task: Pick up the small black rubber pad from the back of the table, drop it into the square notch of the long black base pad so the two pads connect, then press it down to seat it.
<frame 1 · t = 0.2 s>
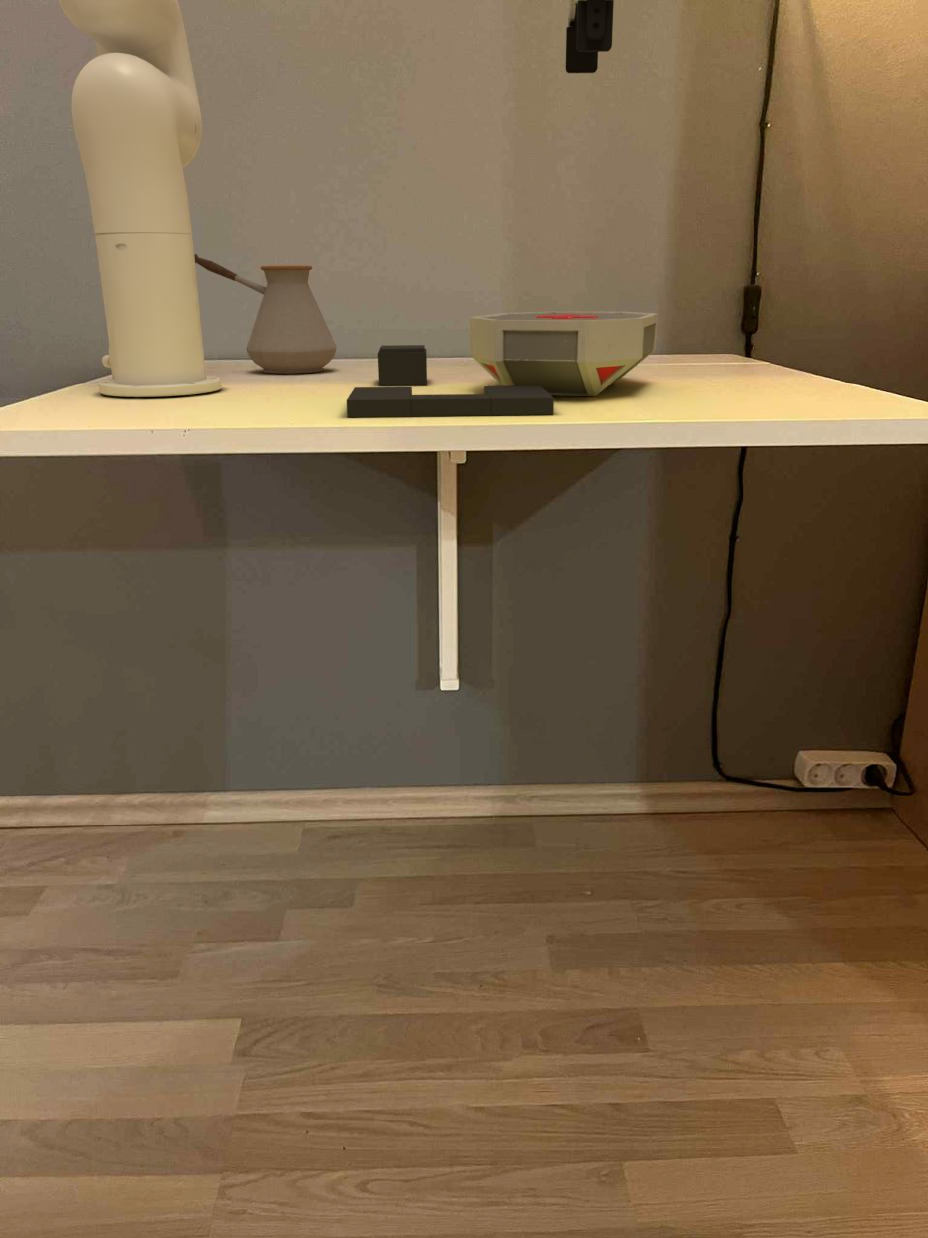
hand: (587, 62, 92), 31 cm above the table, tool pointing down, fingers open, 9 cm apart
coffee pot: (259, 372, 125), on the table
pad piece: (403, 382, 109), on the table
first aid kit: (564, 390, 102), on the table
base pad: (449, 408, 87), on the table
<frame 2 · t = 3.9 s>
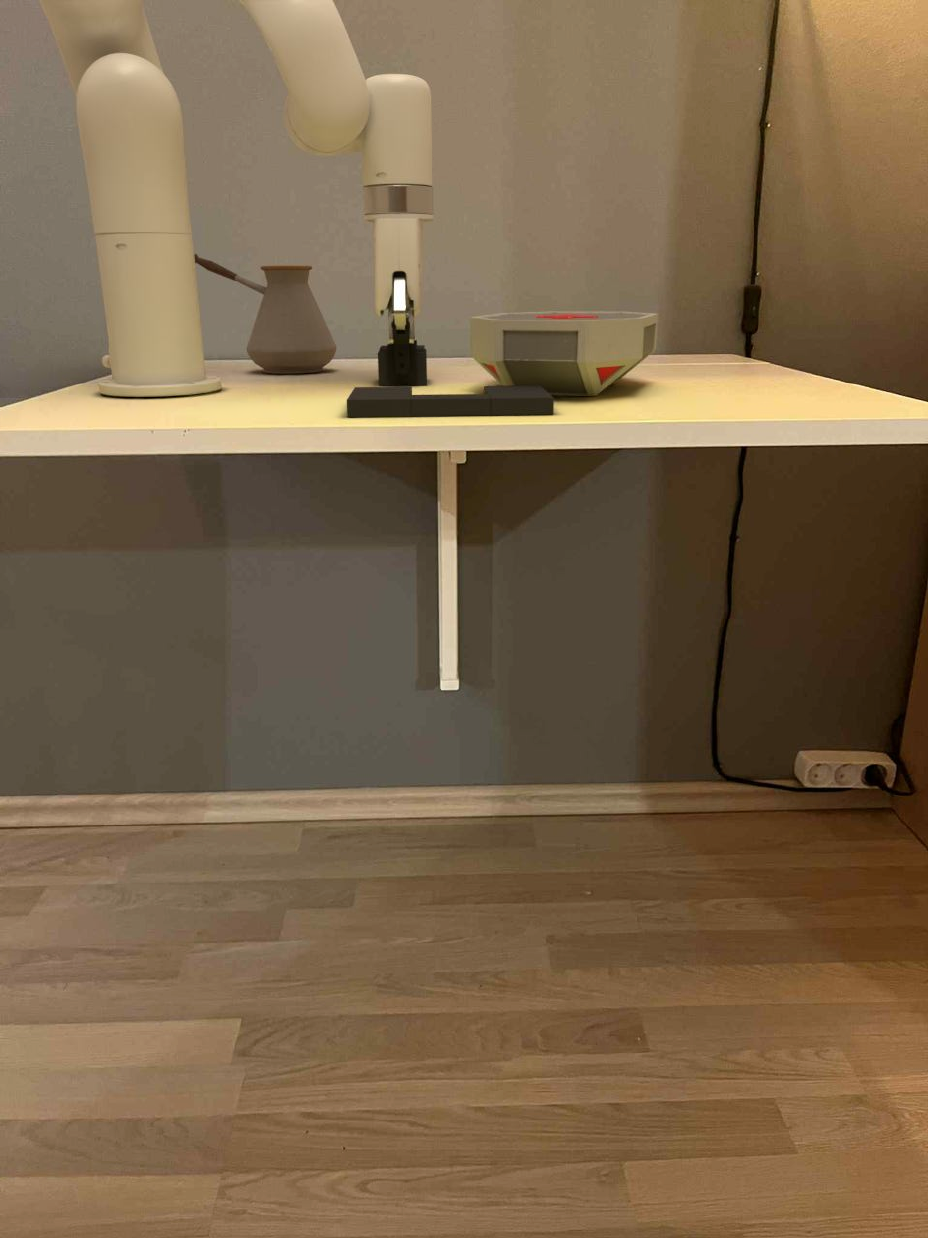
hand: (403, 376, 109), 1 cm above the table, tool pointing down, fingers closed on pad piece, 5 cm apart
pad piece: (403, 382, 109), on the table, touching gripper
everything else where it was.
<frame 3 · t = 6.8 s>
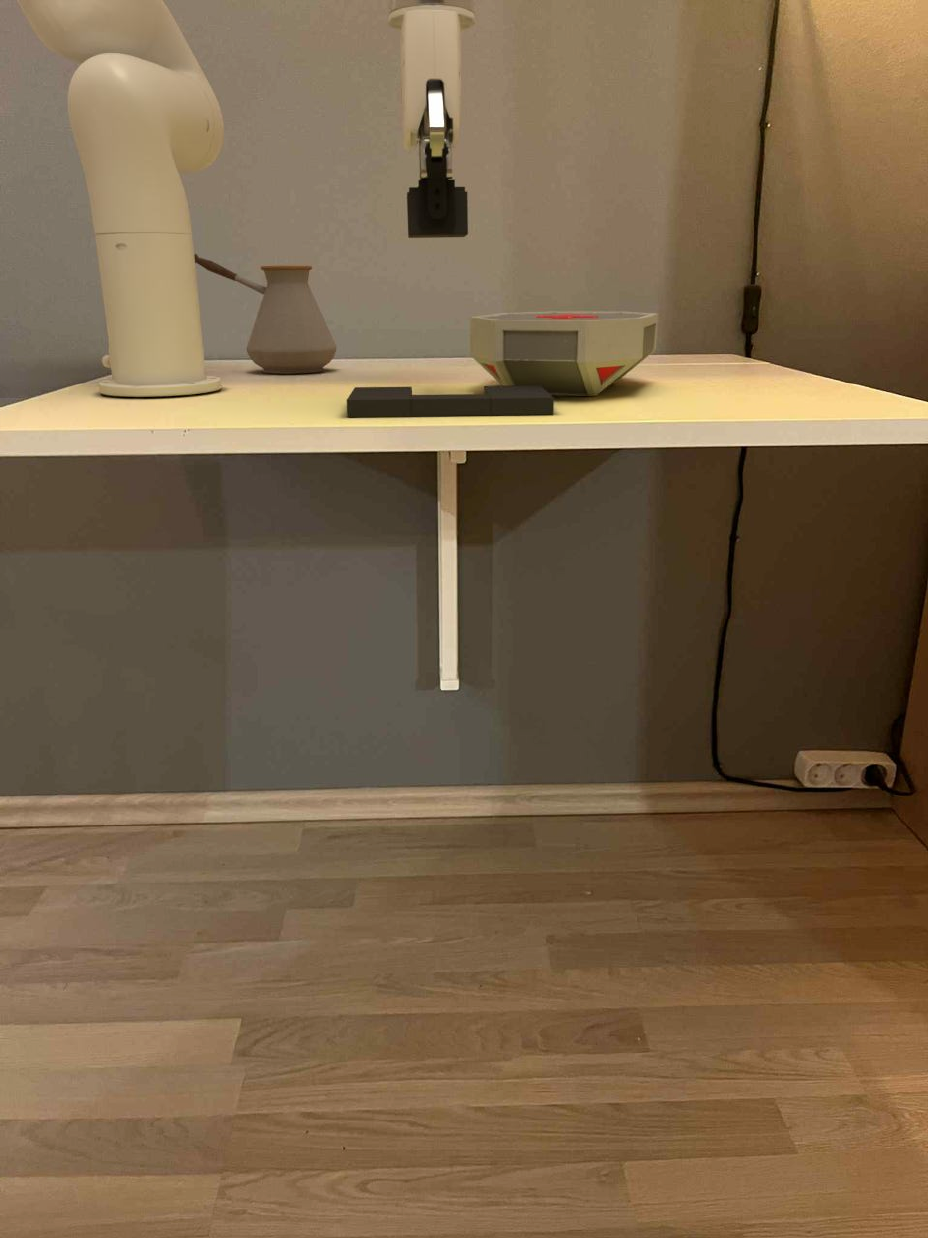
hand: (436, 227, 88), 16 cm above the table, tool pointing down, fingers closed on pad piece, 5 cm apart
pad piece: (437, 236, 88), point 15 cm above the table, touching gripper
everything else where it was.
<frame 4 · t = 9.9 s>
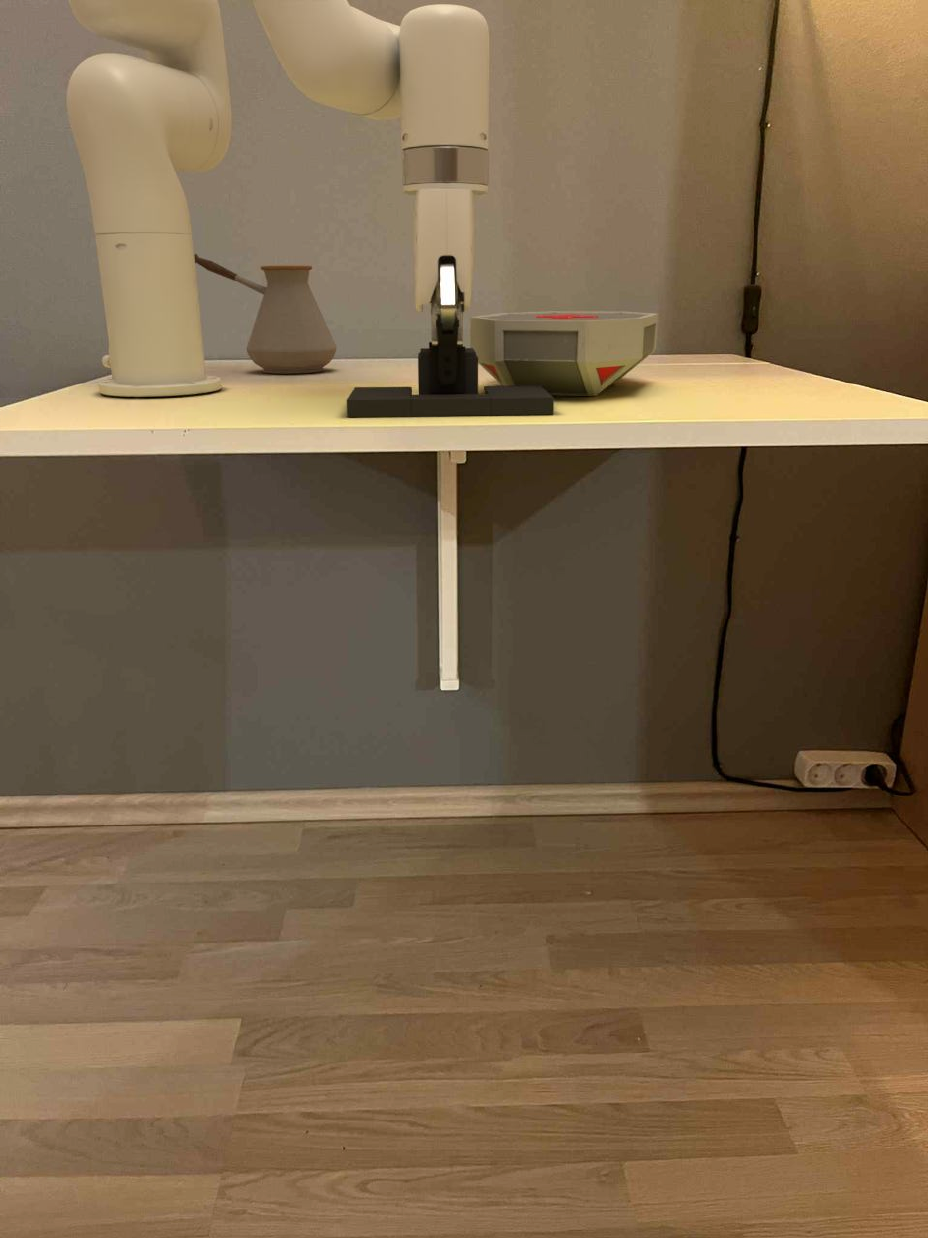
hand: (446, 386, 88), 2 cm above the table, tool pointing down, fingers closed on pad piece, 5 cm apart
pad piece: (447, 394, 89), point 1 cm above the table, touching gripper
everything else where it was.
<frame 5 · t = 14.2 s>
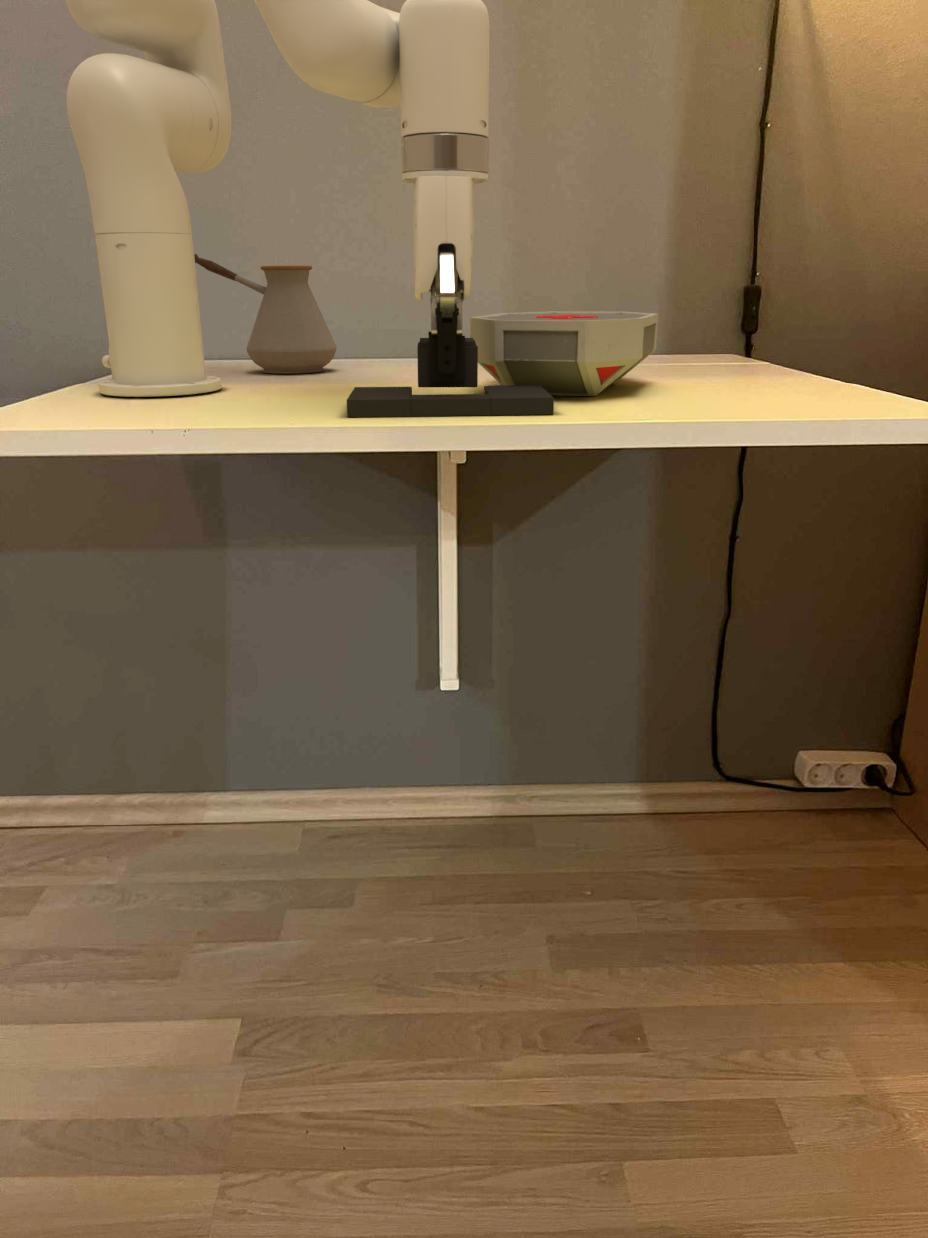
hand: (446, 376, 88), 3 cm above the table, tool pointing down, fingers closed on pad piece, 5 cm apart
pad piece: (447, 384, 88), point 2 cm above the table, touching gripper
everything else where it was.
when the fingers open (3 cm above the table, at t = 18.2 s): pad piece drops 2 cm, on the table.
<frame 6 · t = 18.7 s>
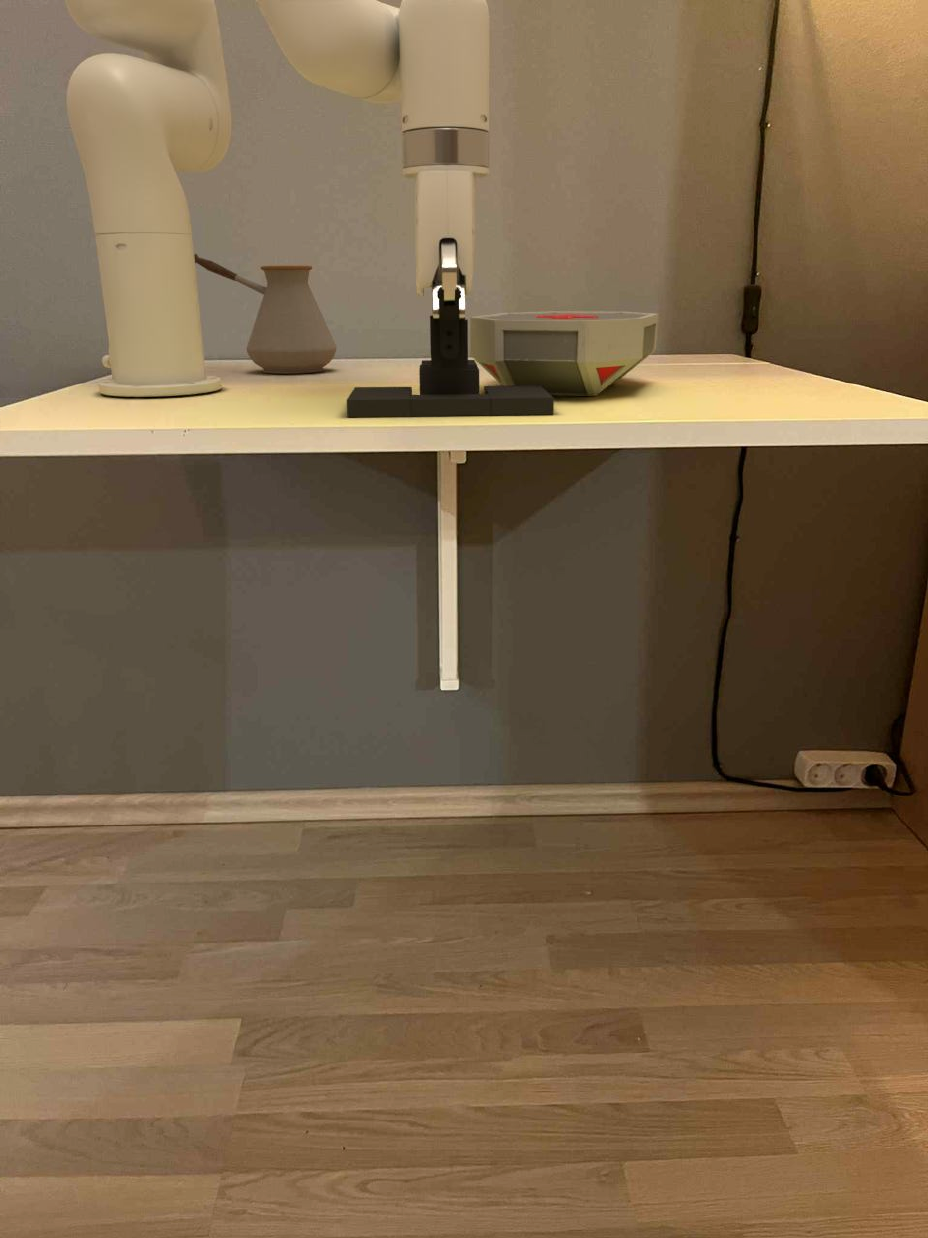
hand: (448, 362, 88), 4 cm above the table, tool pointing down, fingers open, 9 cm apart
pad piece: (449, 406, 89), on the table
everything else where it was.
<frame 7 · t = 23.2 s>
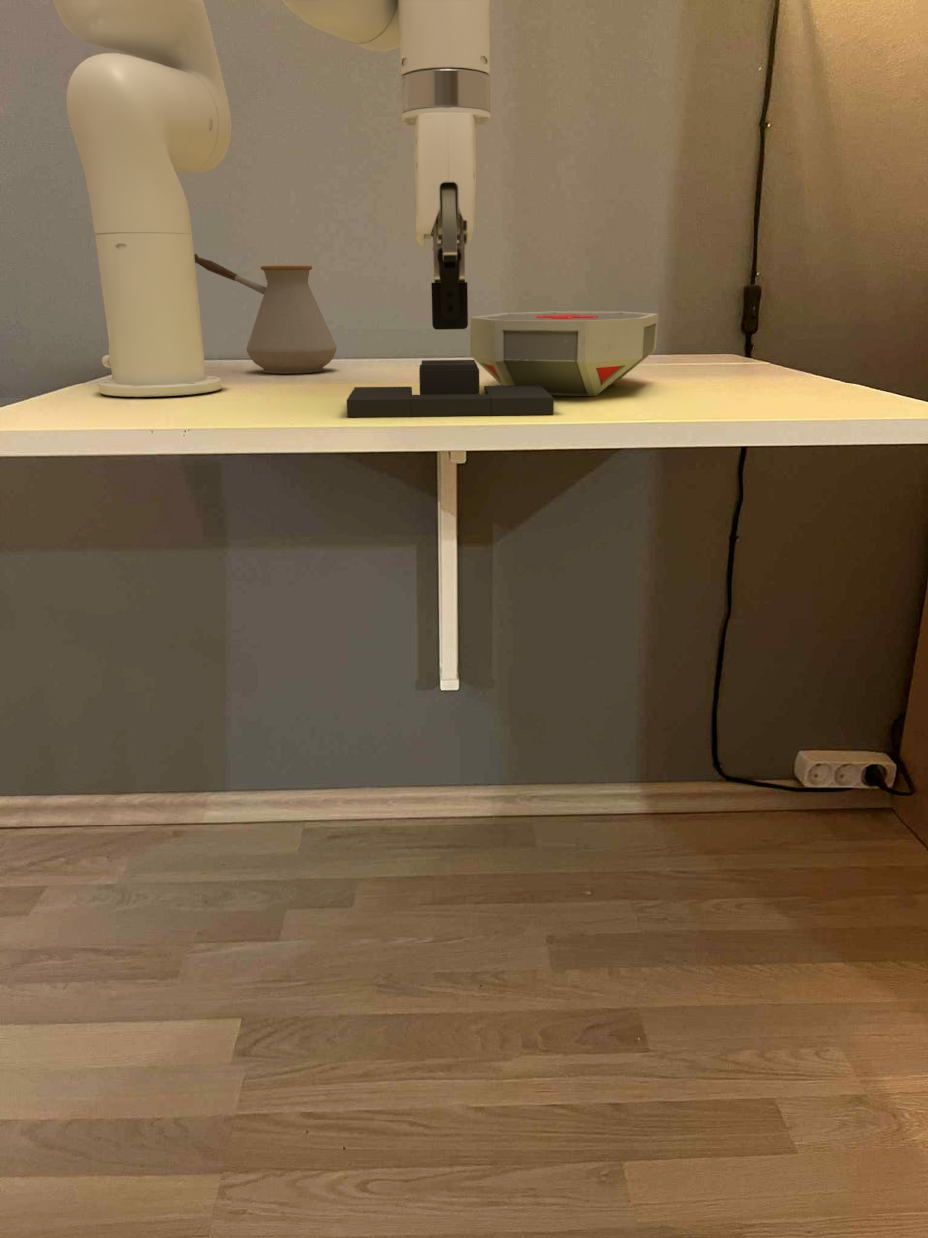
hand: (450, 328, 87), 7 cm above the table, tool pointing down, fingers closed
nothing on the table moved.
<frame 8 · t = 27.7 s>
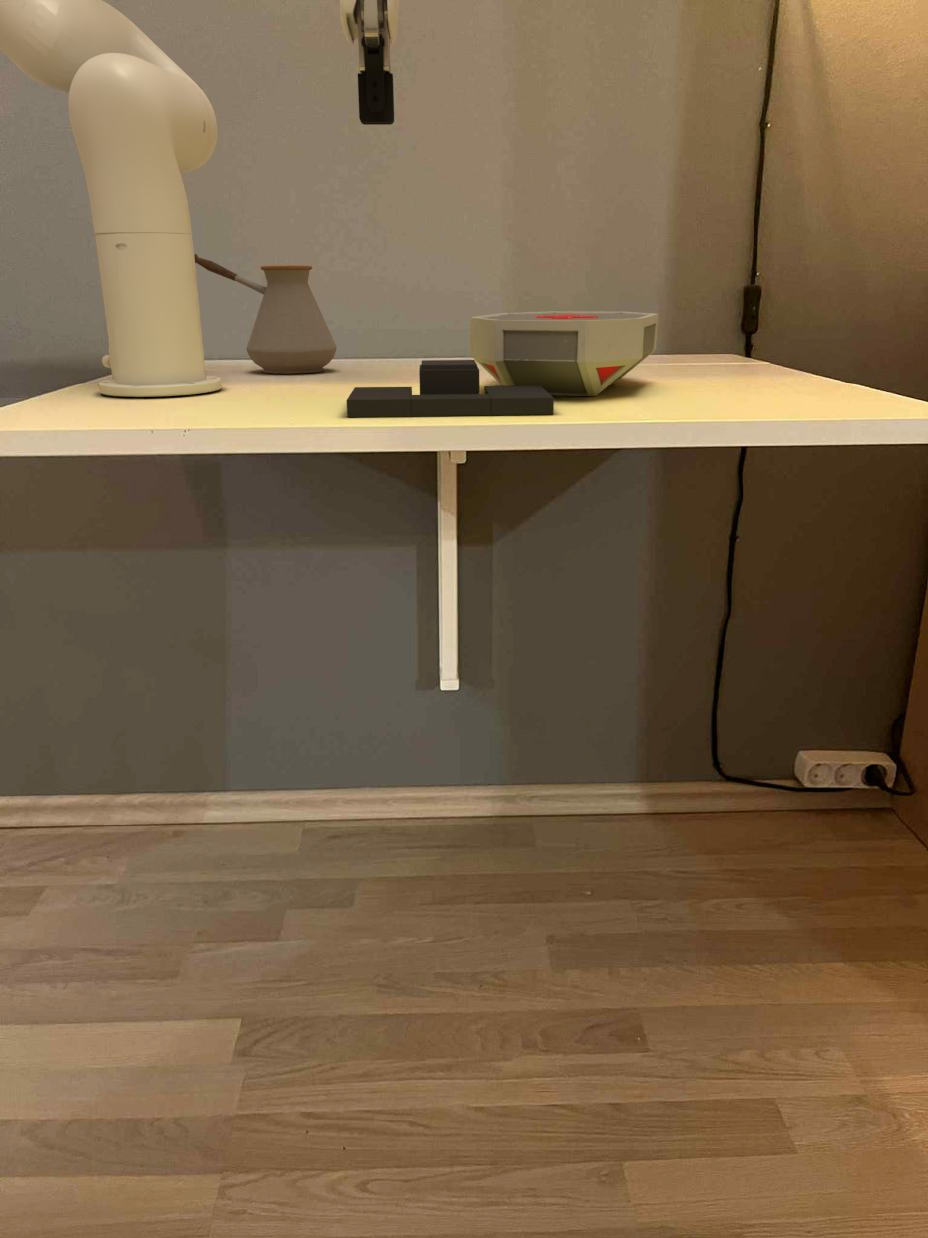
hand: (377, 122, 89), 25 cm above the table, tool pointing down, fingers closed
nothing on the table moved.
at the end: pad piece 0.1 cm from the target spot on the base pad, point 0.0 cm above the base pad's base; pad piece tilted 0°; the gripper is holding nothing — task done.
